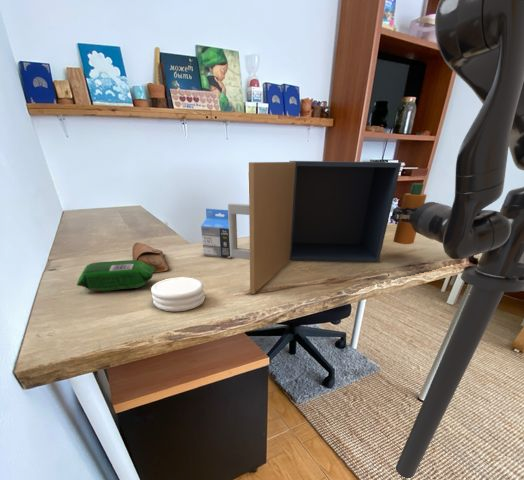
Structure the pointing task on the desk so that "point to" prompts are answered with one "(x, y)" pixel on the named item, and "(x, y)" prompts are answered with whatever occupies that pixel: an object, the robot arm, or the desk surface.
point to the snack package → (115, 275)
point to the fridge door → (265, 220)
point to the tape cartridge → (216, 234)
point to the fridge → (341, 210)
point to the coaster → (178, 294)
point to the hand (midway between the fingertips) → (407, 211)
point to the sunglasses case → (149, 256)
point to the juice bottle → (413, 200)
